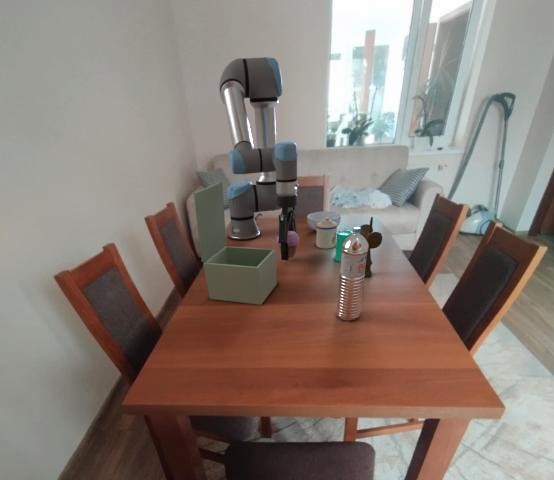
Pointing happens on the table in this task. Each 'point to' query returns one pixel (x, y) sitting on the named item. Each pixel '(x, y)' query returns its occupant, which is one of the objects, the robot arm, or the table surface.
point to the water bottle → (352, 276)
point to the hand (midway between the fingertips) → (288, 255)
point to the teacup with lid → (326, 234)
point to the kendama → (370, 243)
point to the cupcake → (291, 243)
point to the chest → (241, 274)
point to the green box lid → (210, 220)
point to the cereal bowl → (322, 218)
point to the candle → (340, 239)
